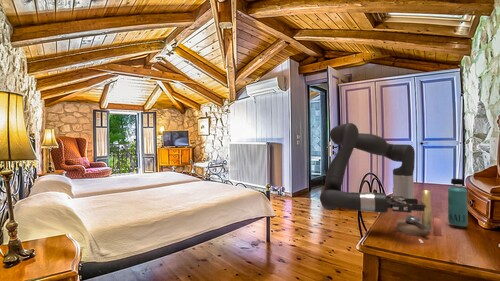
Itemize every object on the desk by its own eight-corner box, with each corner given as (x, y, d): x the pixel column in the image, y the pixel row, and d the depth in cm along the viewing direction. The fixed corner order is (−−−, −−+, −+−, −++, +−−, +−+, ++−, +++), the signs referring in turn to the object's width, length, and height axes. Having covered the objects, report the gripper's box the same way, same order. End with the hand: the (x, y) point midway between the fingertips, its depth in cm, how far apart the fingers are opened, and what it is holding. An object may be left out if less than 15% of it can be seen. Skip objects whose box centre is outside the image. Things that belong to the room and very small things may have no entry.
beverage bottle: (458, 224, 108) (458, 177, 107) (473, 229, 101) (472, 179, 101) (443, 224, 107) (443, 177, 107) (457, 230, 101) (456, 180, 101)
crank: (402, 220, 104) (402, 185, 104) (414, 220, 105) (414, 184, 104) (422, 231, 93) (421, 191, 92) (436, 230, 93) (435, 190, 92)
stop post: (432, 233, 98) (431, 218, 98) (438, 233, 98) (438, 218, 98) (436, 236, 96) (436, 220, 96) (443, 235, 96) (442, 220, 96)
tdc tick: (418, 239, 93) (418, 239, 93) (421, 239, 93) (421, 239, 93) (420, 242, 90) (420, 242, 90) (423, 243, 90) (423, 242, 90)
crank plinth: (391, 226, 107) (391, 219, 107) (417, 225, 108) (417, 218, 108) (407, 236, 96) (407, 228, 96) (436, 235, 97) (436, 227, 97)
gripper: (374, 197, 93) (426, 199, 88) (370, 189, 107) (415, 190, 101) (375, 217, 93) (427, 220, 88) (370, 206, 107) (415, 209, 101)
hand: (420, 204), depth 95 cm, fingers open, 8 cm apart
